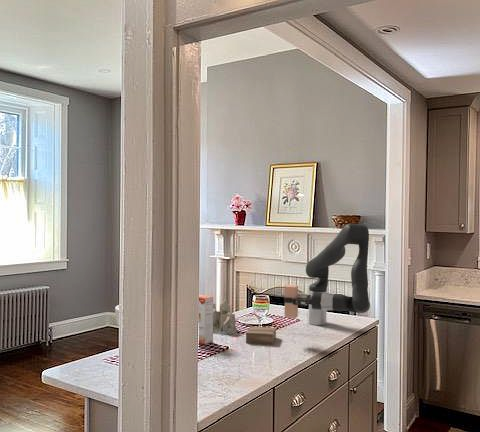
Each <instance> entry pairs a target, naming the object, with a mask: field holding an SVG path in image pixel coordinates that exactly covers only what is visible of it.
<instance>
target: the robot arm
mask: <svg viewBox="0 0 480 432" xmlns="http://www.w3.org/2000/svg"><path fill="white" fill-rule="evenodd" d="M369 242H370V232H369V228H368V226H366V224H365V225H364V224H357V223H347V224H346V225H344V226H343V227H342V228H341V230H340V231H339V233H338V234H337V235H336V237H334V238H333V240H332V241H331V242H330V243H328V244H327V245H326V247H324V249H322V251H320V252H319V253H318V254H317V255H316V256H314V257H313V258H312V259H310V260H309V261H308V262H307V263H306V265H305V273H306V275H307V277H309V278H312V279H317V280H316V281H315V282H313V283H311V284H310V285H309V287H308V294H299V293H298V297H297V298H287V297H285V296H284V298H283V303H284V304H285V303H292V304H293V305H298V306H302V307H305V306H308V324H310V325H312V326H313V325H314V326H325V325H326V324H327V314H328V313H327V312H328V311H339V312H340V311H343V312H352V313H357V314H364V313H367V312H368V311H369V310H370V308H371V303H370V298H369V277H368V257H369V246H370V243H369ZM347 245H358V255H357V256H356V259H355V261H354V262H353V265H352V266H351V269H350V271H351V272H350V279H351V281H350V282H351V289H352V292H351V293H352V294H351V296H348V295H345V294H339V293H330V292H328V285H329V274H330V273H329V271H330V269H329V268H330V266H333V265H336V264H337V263H339V262H340V261H341V260H342V259H343V258H344V256H345V255H346V246H347ZM296 301H297V302H296Z"/></svg>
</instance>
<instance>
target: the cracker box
mask: <svg viewBox="0 0 480 432" xmlns="http://www.w3.org/2000/svg"><path fill="white" fill-rule="evenodd" d="M213 303H214V297H213V296H210V295H206V294H205V295H204V294H199V343H198V344H201V345H204V344H205V345H207V344H211V343H213V342H214V333H213Z"/></svg>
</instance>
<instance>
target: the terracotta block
mask: <svg viewBox="0 0 480 432" xmlns="http://www.w3.org/2000/svg"><path fill="white" fill-rule="evenodd" d="M298 294H299V285H298V284H296V285H295V284H287V285H284V298H285V297H287V298H297V297H298ZM296 302H297V301H296ZM297 317H299V305H293V304H292V303H285V302H284V318H287V319H297Z"/></svg>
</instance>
